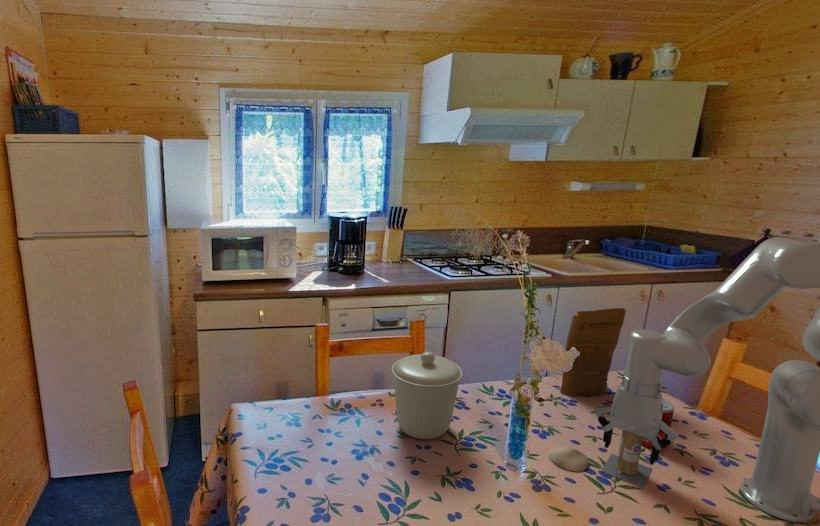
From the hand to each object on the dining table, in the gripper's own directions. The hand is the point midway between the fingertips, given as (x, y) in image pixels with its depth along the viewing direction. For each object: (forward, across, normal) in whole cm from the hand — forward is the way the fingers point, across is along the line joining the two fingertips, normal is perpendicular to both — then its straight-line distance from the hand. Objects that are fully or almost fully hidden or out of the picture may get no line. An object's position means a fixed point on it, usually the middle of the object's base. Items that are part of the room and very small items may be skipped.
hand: (629, 453), depth 108 cm
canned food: (+5, -2, -17) cm, 18 cm away
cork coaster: (+4, +12, +5) cm, 14 cm away
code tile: (+4, 0, 0) cm, 4 cm away
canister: (+5, +46, +17) cm, 49 cm away
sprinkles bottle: (+4, 0, 0) cm, 4 cm away
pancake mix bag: (+5, +19, -33) cm, 38 cm away
